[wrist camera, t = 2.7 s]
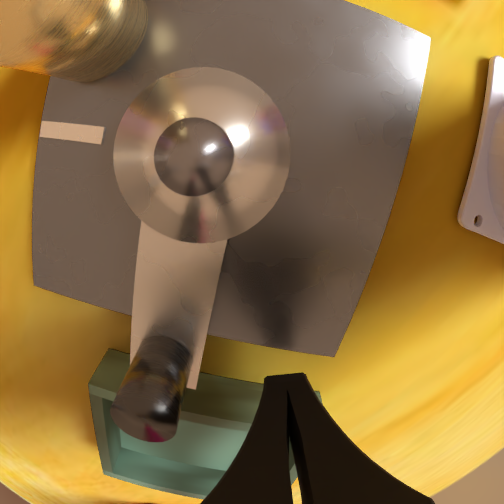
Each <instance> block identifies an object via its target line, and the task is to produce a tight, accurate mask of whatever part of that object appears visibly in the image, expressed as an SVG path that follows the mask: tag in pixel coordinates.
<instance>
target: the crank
mask: <svg viewBox="0 0 504 504" xmlns="http://www.w3.org/2000/svg"><path fill="white" fill-rule="evenodd" d="M290 157H291V150H290V139H289V135H288V130H287V127H286V124H285V122H284V119H283V117H282V115H281V113H280V111H279V109H278V108H277V106H276V105H275V103H274V102H273V101H272V99H271V98H270V97H269V96H268V95H267V94H266V93H265V92H264V91H263V90H262V89H261V88H260V87H259V86H257V85H256V84H255V83H253V82H252V81H250V80H249V79H247V78H245V77H243V76H242V75H239V74H237V73H234V72H232V71H228V70H224V69H220V68H212V67H194V68H187V69H182V70H179V71H176V72H172V73H170V74H168V75H165V76H163V77H161V78H159V79H158V80H156V81H155V82H153V83H151V84H150V85H149V86H148V87H146V88H145V89H144V90H143V91H142V92H141V93H140V94H139V95H138V96H137V97H136V98H135V99H134V100H133V101H132V103H131V104H130V106H129V107H128V108H127V110H126V112H125V114H124V115H123V117H122V119H121V122H120V124H119V127H118V129H117V133H116V137H115V142H114V150H113V164H114V171H115V176H116V180H117V183H118V186H119V189H120V191H121V193H122V196H123V197H124V199H125V201H126V203H127V204H128V206H129V207H130V208H131V210H132V211H133V212H134V214H135V215H136V216H137V217H138V218H139V219H140V220H141V228H140V235H139V244H138V252H137V261H136V271H135V282H134V294H133V308H132V324H131V346H130V367H129V369H128V371H127V373H126V375H125V377H124V379H123V382H122V384H121V386H120V388H119V390H118V392H117V395H116V397H115V399H114V401H113V403H112V406H111V408H110V414H111V417H112V419H113V421H114V423H115V424H116V425H117V426H118V427H119V428H120V429H121V430H122V431H124V432H125V433H127V434H128V435H130V436H132V437H134V438H137V439H139V440H143V441H147V442H164V441H168V440H170V439H171V438H173V437H174V436H175V434H176V431H177V427H178V423H179V418H180V414H181V409H182V405H183V401H184V396H185V392H186V388H191V389H195V390H196V386H197V381H198V376H199V371H200V366H201V361H202V356H203V351H204V346H205V341H206V336H207V332H208V327H209V322H210V317H211V312H212V308H213V303H214V298H215V294H216V289H217V284H218V280H219V275H220V271H221V266H222V262H223V257H224V253H225V248H226V244H227V239H229V238H232V237H235V236H237V235H239V234H241V233H243V232H245V231H247V230H248V229H250V228H251V227H253V226H254V225H256V224H257V223H258V222H259V221H260V220H261V219H262V218H264V217H265V216H266V214H267V213H268V212H269V211H270V210H271V209H272V208H273V206H274V205H275V203H276V202H277V200H278V198H279V197H280V195H281V193H282V191H283V188H284V186H285V183H286V180H287V177H288V173H289V167H290Z"/></svg>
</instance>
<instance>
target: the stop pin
mask: <svg viewBox="0 0 504 504" xmlns="http://www.w3.org/2000/svg"><path fill="white" fill-rule="evenodd" d="M147 24H148V10H147V6H146V3H145V1H144V0H0V66H1V67H7V68H13V69H18V70H24V71H29V72H34V73H39V74H44V75H48V76H53V77H57V78H62V79H66V80H70V81H74V82H91V81H96V80H99V79H102V78H104V77H106V76H108V75H110V74H112V73H113V72H115V71H116V70H118V69H119V68H120V67H121V66H123V65H124V64H125V63H126V62H127V61H128V60H129V59H130V58H131V57H132V55H133V54H134V53H135V52H136V50H137V48H138V47H139V45H140V44H141V42H142V40H143V37H144V35H145V32H146V29H147Z"/></svg>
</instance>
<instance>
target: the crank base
mask: <svg viewBox="0 0 504 504" xmlns="http://www.w3.org/2000/svg"><path fill="white" fill-rule="evenodd" d="M144 1H145V3H146V6H147V10H148V24H147V29H146V32H145V35H144V37H143V40H142V42H141V44H140V45H139V47H138V48H137V50H136V52H135V53H134V54H133V55H132V57H131V58H130V59H129V60H128V61H127V62H126V63H125V64H124V65H123V66H121V67H120V68H119V69H118V70H116V71H115V72H113V73H112V74H110V75H108V76H106V77H104V78H102V79H99V80H96V81H91V82H74V81H70V80H66V79H62V78H57V77H53V76H50V80H49V85H48V89H47V94H46V99H45V104H44V109H43V114H42V120H41V126H40V133H39V140H38V147H37V156H36V165H35V176H34V189H33V210H32V259H33V279H34V285H35V286H37V287H40V288H43V289H46V290H49V291H52V292H55V293H58V294H61V295H64V296H67V297H70V298H73V299H76V300H80V301H83V302H86V303H89V304H93V305H96V306H99V307H103V308H106V309H109V310H113V311H116V312H120V313H123V314H127V315H131V316H132V308H133V294H134V282H135V271H136V261H137V252H138V244H139V235H140V228H141V220H140V219H139V218H138V217H137V216H136V215H135V214H134V212H133V211H132V210H131V208H130V207H129V206H128V204H127V203H126V201H125V199H124V197H123V196H122V193H121V191H120V189H119V186H118V183H117V180H116V176H115V171H114V164H113V150H114V142H115V137H116V133H117V129H118V127H119V124H120V122H121V119H122V117H123V115H124V114H125V112H126V110H127V108H128V107H129V106H130V104H131V103H132V101H133V100H134V99H135V98H136V97H137V96H138V95H139V94H140V93H141V92H142V91H143V90H144V89H145V88H146V87H148V86H149V85H150V84H151V83H153V82H155V81H156V80H158V79H159V78H161V77H163V76H165V75H168V74H170V73H172V72H176V71H179V70H182V69H187V68H194V67H212V68H220V69H224V70H228V71H232V72H234V73H237V74H239V75H242V76H243V77H245V78H247V79H249V80H250V81H252V82H253V83H255V84H256V85H257V86H259V87H260V88H261V89H262V90H263V91H264V92H265V93H266V94H267V95H268V96H269V97H270V98H271V99H272V101H273V102H274V103H275V105H276V106H277V108H278V109H279V111H280V113H281V115H282V117H283V119H284V122H285V124H286V127H287V130H288V135H289V139H290V150H291V157H290V167H289V173H288V177H287V180H286V183H285V186H284V188H283V191H282V193H281V195H280V197H279V198H278V200H277V202H276V203H275V205H274V206H273V208H272V209H271V210H270V211H269V212H268V213H267V214H266V216H265V217H264V218H262V219H261V220H260V221H259V222H258V223H257V224H256V225H254V226H253V227H251V228H250V229H248V230H247V231H245V232H243V233H241V234H239V235H237V236H235V237H232V238H229V239H227V244H226V248H225V253H224V257H223V262H222V266H221V271H220V275H219V280H218V284H217V289H216V294H215V298H214V303H213V308H212V312H211V317H210V322H209V327H208V332H207V334H208V335H212V336H217V337H222V338H226V339H231V340H236V341H241V342H246V343H251V344H257V345H262V346H267V347H273V348H279V349H285V350H291V351H297V352H303V353H309V354H316V355H323V356H330V357H334V356H335V354H336V352H337V350H338V348H339V345H340V343H341V341H342V339H343V337H344V334H345V332H346V330H347V327H348V325H349V323H350V320H351V318H352V316H353V313H354V311H355V308H356V306H357V304H358V301H359V299H360V296H361V294H362V291H363V289H364V286H365V283H366V281H367V278H368V276H369V273H370V270H371V268H372V265H373V262H374V259H375V257H376V254H377V251H378V248H379V245H380V243H381V240H382V237H383V234H384V231H385V228H386V225H387V222H388V219H389V216H390V213H391V209H392V206H393V203H394V200H395V196H396V193H397V190H398V186H399V183H400V179H401V176H402V172H403V169H404V165H405V161H406V158H407V154H408V150H409V146H410V142H411V138H412V134H413V130H414V126H415V121H416V117H417V112H418V108H419V103H420V98H421V93H422V88H423V83H424V77H425V72H426V66H427V60H428V54H429V47H430V40H431V38H430V37H428V36H426V35H424V34H422V33H420V32H418V31H416V30H414V29H412V28H410V27H408V26H406V25H404V24H402V23H399V22H397V21H395V20H393V19H390V18H388V17H386V16H383V15H381V14H379V13H376V12H374V11H371V10H369V9H366V8H363V7H361V6H358V5H355V4H352V3H350V2H347V1H344V0H144Z"/></svg>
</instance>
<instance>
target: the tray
mask: <svg viewBox="0 0 504 504" xmlns="http://www.w3.org/2000/svg"><path fill="white" fill-rule="evenodd" d="M129 367H130V354H126V353H123V352H120V351H116V350H113V349H110V348H109V349H108V351H107V352H106V354H105V356H104V357H103V359H102V361H101V362H100V364H99V366H98V367H97V369H96V371H95V373H94V374H93V376H92V378H91V380H90V381H89V383H88V387H89V395H90V403H91V410H92V416H93V423H94V429H95V434H96V440H97V445H98V450H99V455H100V460H101V464H102V469H103V473H104V475H107V476H110V477H114V478H117V479H120V480H123V481H126V482H130V483H133V484H137V485H140V486H144V487H148V488H152V489H156V490H160V491H164V492H169V493H173V494H178V495H183V496H188V497H193V498H199V499H205V498H206V497H207V495H208V494H209V493H210V492H211V491H212V490H213V488H214V487H215V486H216V485H217V483H218V482H219V481H220V479H221V478H222V477H223V475H224V474H225V472H226V471H227V469H228V468H229V466H230V465H231V463H232V462H233V460H234V458H235V457H236V455H237V453H238V452H239V450H240V448H241V446H242V444H243V442H244V440H245V438H246V436H247V434H248V432H249V429H250V427H251V425H252V423H253V420H254V417H255V414H256V412H257V409H258V406H259V403H260V399H261V396H262V392H263V386H264V384H259V383H253V382H248V381H242V380H236V379H231V378H226V377H221V376H216V375H211V374H206V373H201V372H199V376H198V381H197V386H196V390H195V389H191V388H186V392H185V396H184V401H183V405H182V409H181V414H180V418H179V423H178V427H177V431H176V434H175V436H174V437H173V438H171V439H170V440H168V441H164V442H147V441H143V440H139V439H137V438H134V437H132V436H130V435H128V434H127V433H125V432H124V431H122V430H121V429H120V428H119V427H118V426H117V425H116V424H115V423H114V421H113V419H112V417H111V414H110V408H111V406H112V403H113V401H114V399H115V397H116V395H117V392H118V390H119V388H120V386H121V384H122V382H123V379H124V377H125V375H126V373H127V371H128V369H129ZM314 392H315V394H316V395H317V397H318V399H319V400H320V402H321V403H322V400H321V396H320V392H318V391H314ZM322 405H323V404H322ZM289 471H290V480H291V485H292V484H293V482H294V481H295V480H296V478H297V477H298V476H297V471H296V466H295V462H294V457H293V452H292V448H291V443H290V438H289Z"/></svg>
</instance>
